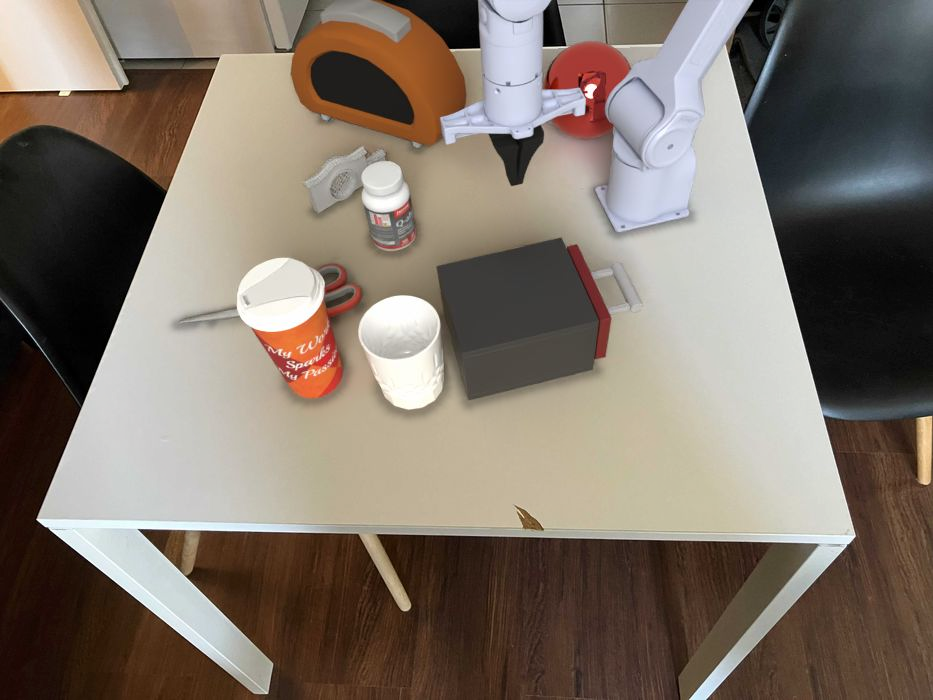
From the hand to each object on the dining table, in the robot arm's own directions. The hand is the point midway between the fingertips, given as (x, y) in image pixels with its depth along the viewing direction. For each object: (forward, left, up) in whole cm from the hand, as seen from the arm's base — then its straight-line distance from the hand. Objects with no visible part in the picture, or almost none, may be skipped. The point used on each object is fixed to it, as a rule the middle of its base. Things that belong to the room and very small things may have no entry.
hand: (514, 179), depth 79 cm
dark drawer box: (+4, +14, -10) cm, 18 cm away
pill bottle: (+14, -6, -11) cm, 19 cm away
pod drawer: (0, +14, -10) cm, 17 cm away
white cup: (+16, +16, -11) cm, 25 cm away
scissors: (+30, +2, -11) cm, 32 cm away
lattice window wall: (+18, -16, -11) cm, 26 cm away
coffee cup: (+26, +12, -11) cm, 31 cm away
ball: (-15, -18, -11) cm, 26 cm away
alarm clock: (+11, -29, -11) cm, 33 cm away
